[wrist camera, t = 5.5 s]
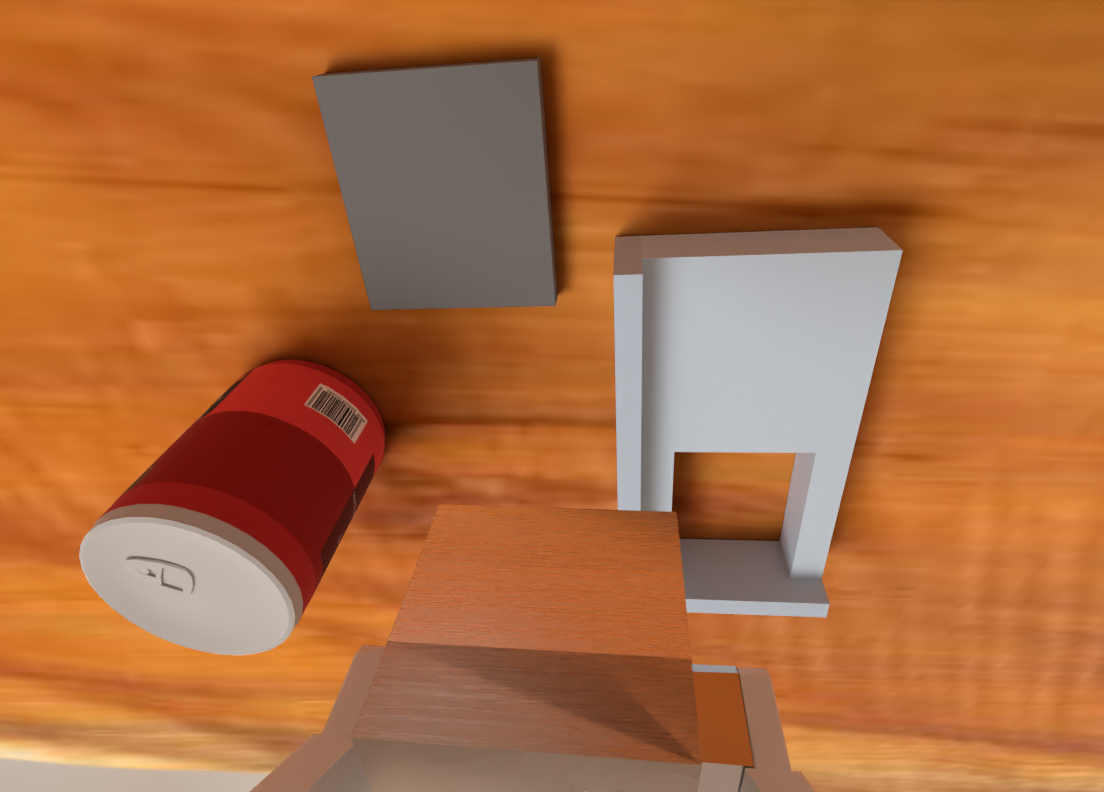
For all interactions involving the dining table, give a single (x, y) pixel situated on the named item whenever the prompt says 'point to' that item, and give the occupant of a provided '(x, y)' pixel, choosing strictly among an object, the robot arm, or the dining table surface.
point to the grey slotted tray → (749, 387)
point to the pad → (445, 182)
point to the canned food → (240, 511)
